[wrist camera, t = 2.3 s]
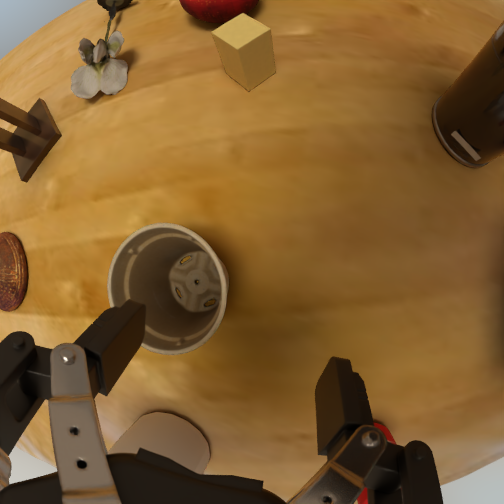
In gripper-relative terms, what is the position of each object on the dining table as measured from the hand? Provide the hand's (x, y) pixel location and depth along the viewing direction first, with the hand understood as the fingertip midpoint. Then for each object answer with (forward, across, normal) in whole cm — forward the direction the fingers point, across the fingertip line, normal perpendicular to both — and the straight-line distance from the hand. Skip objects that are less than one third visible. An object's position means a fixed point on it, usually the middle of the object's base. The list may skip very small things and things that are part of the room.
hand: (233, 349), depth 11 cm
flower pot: (+15, +5, +6) cm, 17 cm away
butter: (+24, +6, -16) cm, 29 cm away
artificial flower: (+28, +28, -20) cm, 44 cm away
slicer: (+23, +38, -4) cm, 44 cm away
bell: (+16, +36, +15) cm, 42 cm away
